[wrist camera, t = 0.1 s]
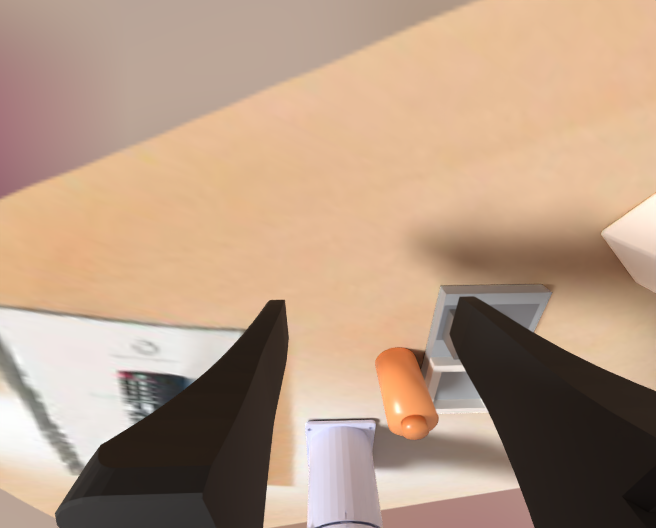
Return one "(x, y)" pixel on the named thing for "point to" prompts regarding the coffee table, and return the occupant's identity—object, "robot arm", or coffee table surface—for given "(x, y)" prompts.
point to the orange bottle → (405, 394)
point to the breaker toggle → (446, 334)
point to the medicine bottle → (636, 242)
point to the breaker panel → (448, 374)
